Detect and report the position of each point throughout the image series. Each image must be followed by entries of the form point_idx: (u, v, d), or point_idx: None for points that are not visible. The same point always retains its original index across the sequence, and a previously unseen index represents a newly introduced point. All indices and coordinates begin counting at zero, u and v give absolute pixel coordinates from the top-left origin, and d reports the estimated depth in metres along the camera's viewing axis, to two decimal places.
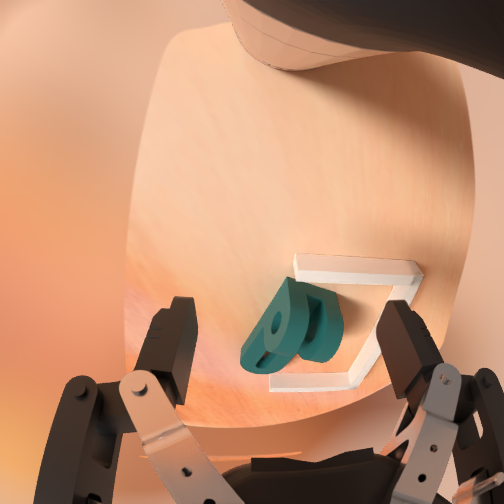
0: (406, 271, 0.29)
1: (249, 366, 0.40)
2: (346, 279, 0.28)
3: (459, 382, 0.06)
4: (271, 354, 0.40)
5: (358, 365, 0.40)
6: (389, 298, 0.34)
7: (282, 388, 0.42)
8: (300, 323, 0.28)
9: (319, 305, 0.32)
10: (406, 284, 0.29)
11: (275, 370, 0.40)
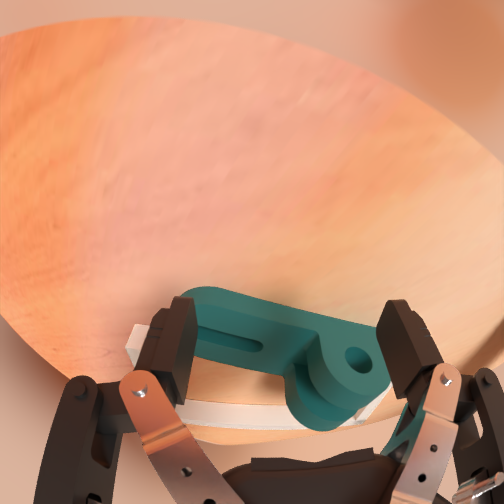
0: None
1: None
2: None
3: (459, 382, 0.06)
4: (220, 334, 0.23)
5: (209, 412, 0.30)
6: None
7: None
8: None
9: None
10: (358, 418, 0.28)
11: None
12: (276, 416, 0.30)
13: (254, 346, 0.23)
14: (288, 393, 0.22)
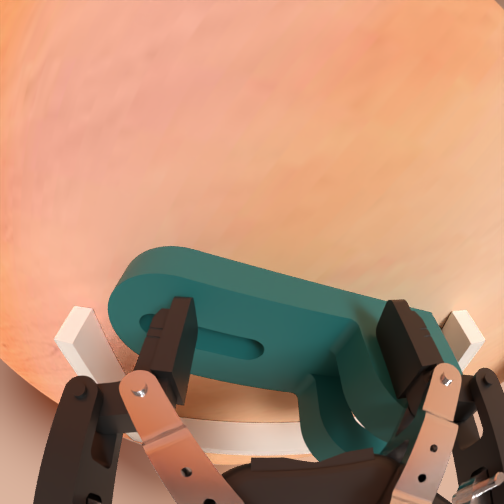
0: None
1: (139, 297, 0.12)
2: None
3: (459, 382, 0.06)
4: None
5: (193, 434, 0.21)
6: None
7: (82, 365, 0.14)
8: None
9: None
10: None
11: None
12: (284, 438, 0.21)
13: (249, 350, 0.14)
14: (305, 421, 0.13)
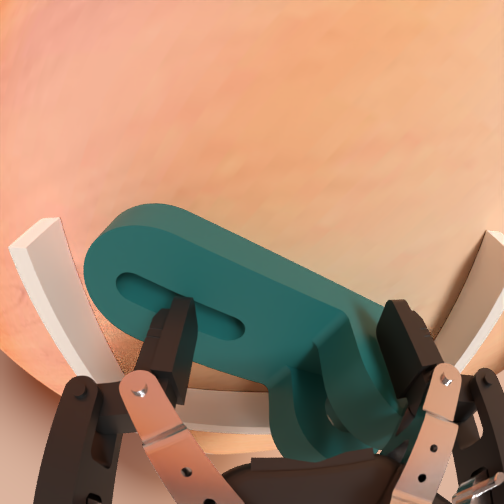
0: None
1: (122, 252, 0.10)
2: (480, 335, 0.12)
3: (459, 382, 0.06)
4: None
5: (178, 405, 0.18)
6: None
7: (37, 285, 0.10)
8: None
9: None
10: None
11: (114, 318, 0.12)
12: None
13: (227, 330, 0.13)
14: (275, 415, 0.13)
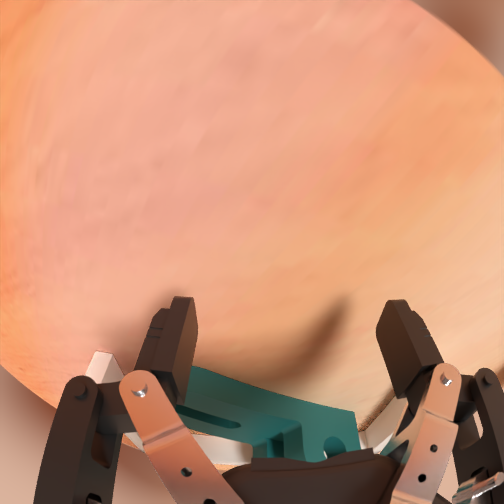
0: None
1: None
2: None
3: (459, 382, 0.06)
4: None
5: None
6: None
7: None
8: None
9: None
10: None
11: None
12: None
13: (229, 421, 0.19)
14: None
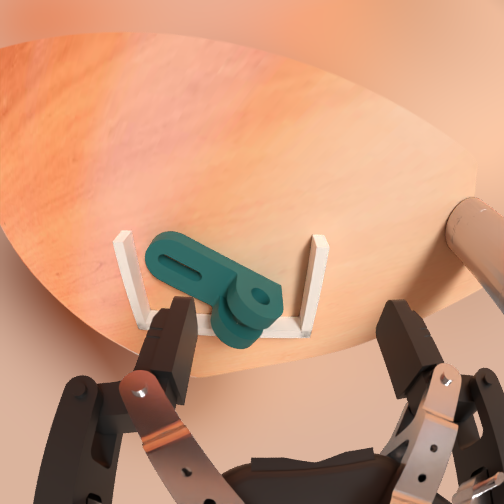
0: None
1: (162, 247, 0.33)
2: (314, 284, 0.34)
3: (459, 382, 0.06)
4: (176, 266, 0.36)
5: None
6: None
7: (124, 256, 0.33)
8: (273, 322, 0.33)
9: None
10: (302, 328, 0.39)
11: (153, 272, 0.35)
12: None
13: (196, 278, 0.36)
14: (212, 315, 0.36)
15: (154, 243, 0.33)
